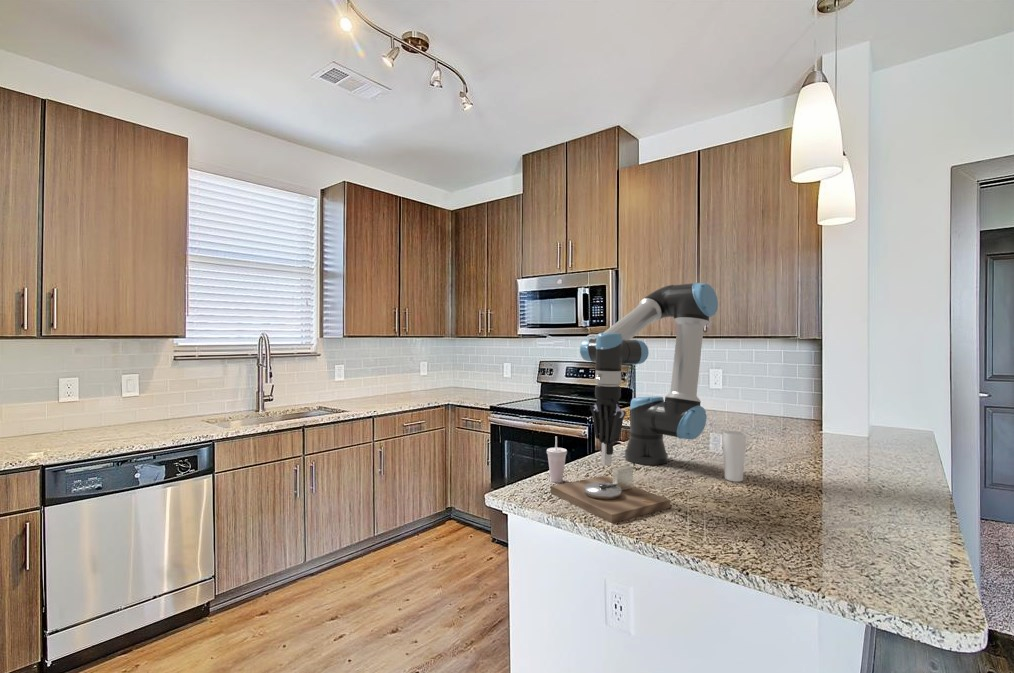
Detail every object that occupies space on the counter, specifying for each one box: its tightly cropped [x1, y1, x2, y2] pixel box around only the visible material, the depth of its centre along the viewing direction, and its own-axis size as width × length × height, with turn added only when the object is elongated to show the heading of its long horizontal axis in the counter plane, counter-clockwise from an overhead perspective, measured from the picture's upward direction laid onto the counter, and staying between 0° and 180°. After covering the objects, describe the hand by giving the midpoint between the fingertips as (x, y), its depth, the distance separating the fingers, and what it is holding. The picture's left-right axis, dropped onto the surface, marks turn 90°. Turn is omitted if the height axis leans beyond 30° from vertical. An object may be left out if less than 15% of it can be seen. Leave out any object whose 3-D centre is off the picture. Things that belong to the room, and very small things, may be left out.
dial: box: [584, 465, 634, 500], centre depth 133 cm, size 16×10×6 cm, turn 121°
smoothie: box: [546, 436, 568, 484], centre depth 150 cm, size 6×6×14 cm
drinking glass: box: [722, 430, 747, 483], centre depth 153 cm, size 7×7×15 cm
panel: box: [550, 475, 671, 524], centre depth 133 cm, size 21×25×2 cm
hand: (606, 464), depth 142 cm, fingers closed
